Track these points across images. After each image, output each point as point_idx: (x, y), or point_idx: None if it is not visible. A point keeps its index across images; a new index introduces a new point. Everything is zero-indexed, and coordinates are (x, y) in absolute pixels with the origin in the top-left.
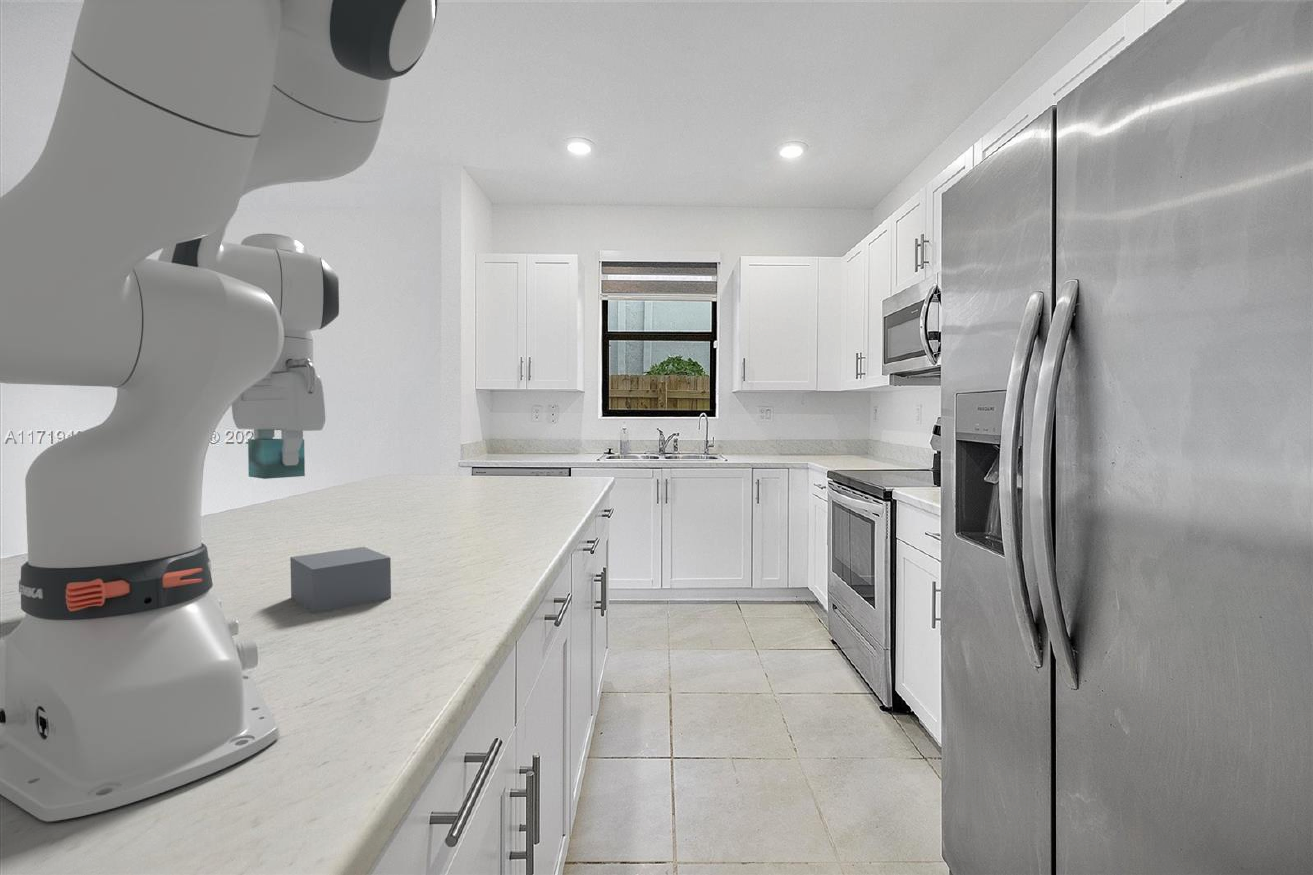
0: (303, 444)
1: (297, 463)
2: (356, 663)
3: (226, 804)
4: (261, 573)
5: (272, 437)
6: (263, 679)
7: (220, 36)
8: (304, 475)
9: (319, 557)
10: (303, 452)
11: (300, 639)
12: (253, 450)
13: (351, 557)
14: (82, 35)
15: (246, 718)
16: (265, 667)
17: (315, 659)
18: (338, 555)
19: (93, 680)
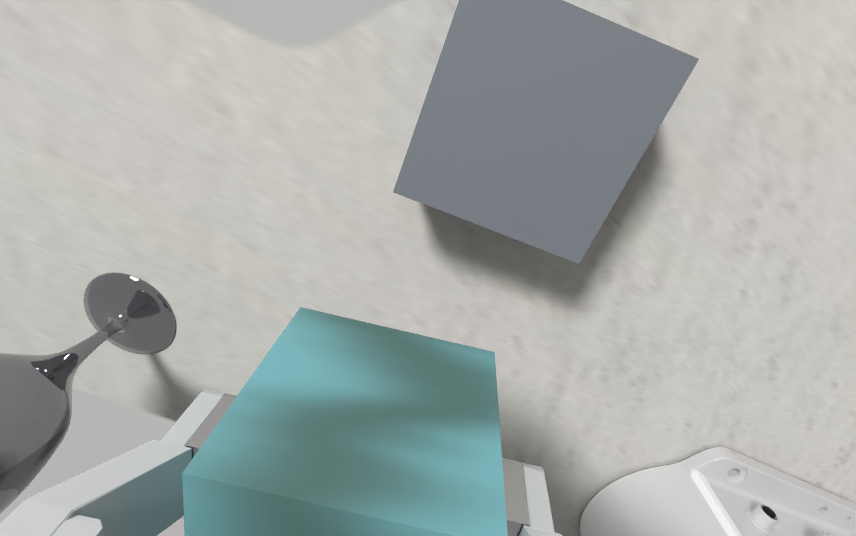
0: (501, 509)
1: (542, 469)
2: (831, 364)
3: None
4: (107, 39)
5: (76, 513)
6: (728, 433)
7: None
8: (492, 354)
9: (475, 161)
10: (499, 458)
11: (656, 327)
12: None
13: (568, 117)
14: None
15: (831, 523)
16: (696, 410)
17: (750, 373)
18: (506, 116)
19: None
